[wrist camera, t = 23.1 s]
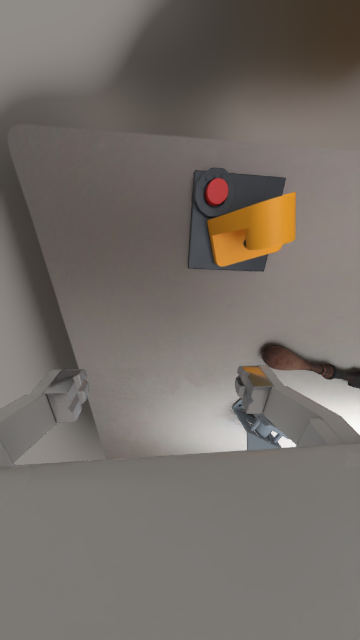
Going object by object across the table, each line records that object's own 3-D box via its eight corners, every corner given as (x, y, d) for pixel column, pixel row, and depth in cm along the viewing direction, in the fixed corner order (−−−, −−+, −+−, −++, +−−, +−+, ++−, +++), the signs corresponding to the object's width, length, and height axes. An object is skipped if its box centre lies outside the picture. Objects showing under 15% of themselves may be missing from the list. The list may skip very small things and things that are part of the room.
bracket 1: (214, 265, 32) (237, 280, 21) (205, 221, 29) (228, 211, 18) (273, 248, 32) (329, 254, 21) (271, 201, 29) (335, 179, 18)
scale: (187, 267, 33) (189, 270, 31) (194, 172, 27) (196, 165, 25) (261, 270, 34) (268, 273, 32) (281, 179, 29) (293, 173, 26)
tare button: (203, 205, 27) (206, 203, 25) (205, 180, 26) (208, 176, 24) (223, 206, 27) (226, 204, 26) (226, 182, 26) (230, 178, 24)
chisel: (264, 338, 41) (276, 351, 36) (399, 378, 49) (422, 393, 44) (254, 356, 43) (264, 370, 38) (385, 392, 51) (406, 407, 46)
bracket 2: (223, 412, 50) (243, 477, 37) (248, 390, 47) (280, 452, 34) (254, 429, 54) (283, 493, 41) (279, 409, 51) (320, 472, 38)
